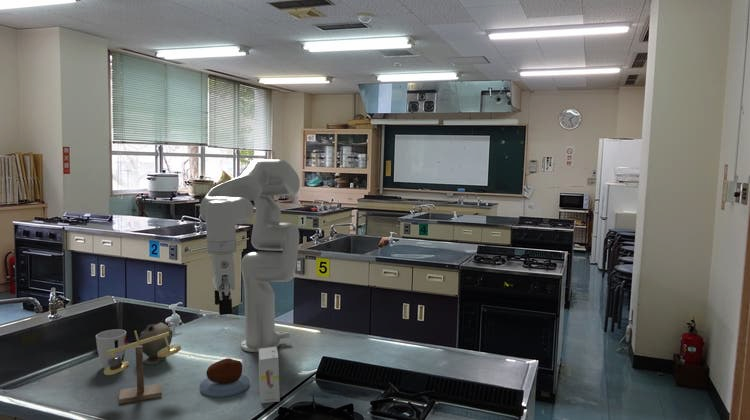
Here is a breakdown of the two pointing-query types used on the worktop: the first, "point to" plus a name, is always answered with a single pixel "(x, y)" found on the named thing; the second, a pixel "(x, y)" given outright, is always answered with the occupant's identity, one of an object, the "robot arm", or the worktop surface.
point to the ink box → (269, 375)
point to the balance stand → (140, 384)
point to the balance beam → (116, 362)
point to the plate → (224, 387)
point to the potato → (225, 371)
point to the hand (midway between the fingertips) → (223, 308)
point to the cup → (110, 344)
